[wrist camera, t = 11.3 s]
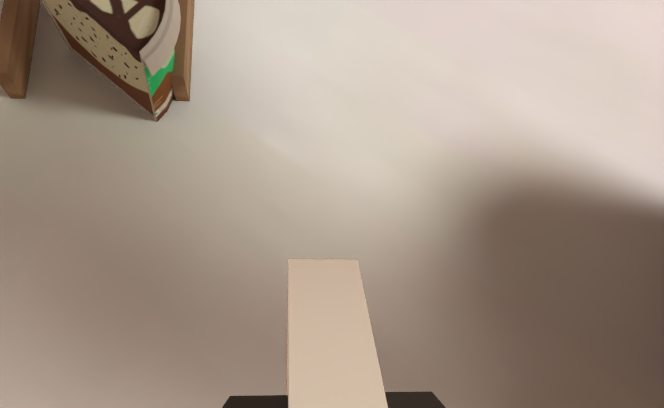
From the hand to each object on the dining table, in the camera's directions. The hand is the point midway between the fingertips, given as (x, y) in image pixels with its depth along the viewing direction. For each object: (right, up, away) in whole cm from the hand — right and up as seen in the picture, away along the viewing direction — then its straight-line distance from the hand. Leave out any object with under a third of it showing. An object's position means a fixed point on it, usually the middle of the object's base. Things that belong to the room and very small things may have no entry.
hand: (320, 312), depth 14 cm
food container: (-15, +14, +34) cm, 40 cm away
